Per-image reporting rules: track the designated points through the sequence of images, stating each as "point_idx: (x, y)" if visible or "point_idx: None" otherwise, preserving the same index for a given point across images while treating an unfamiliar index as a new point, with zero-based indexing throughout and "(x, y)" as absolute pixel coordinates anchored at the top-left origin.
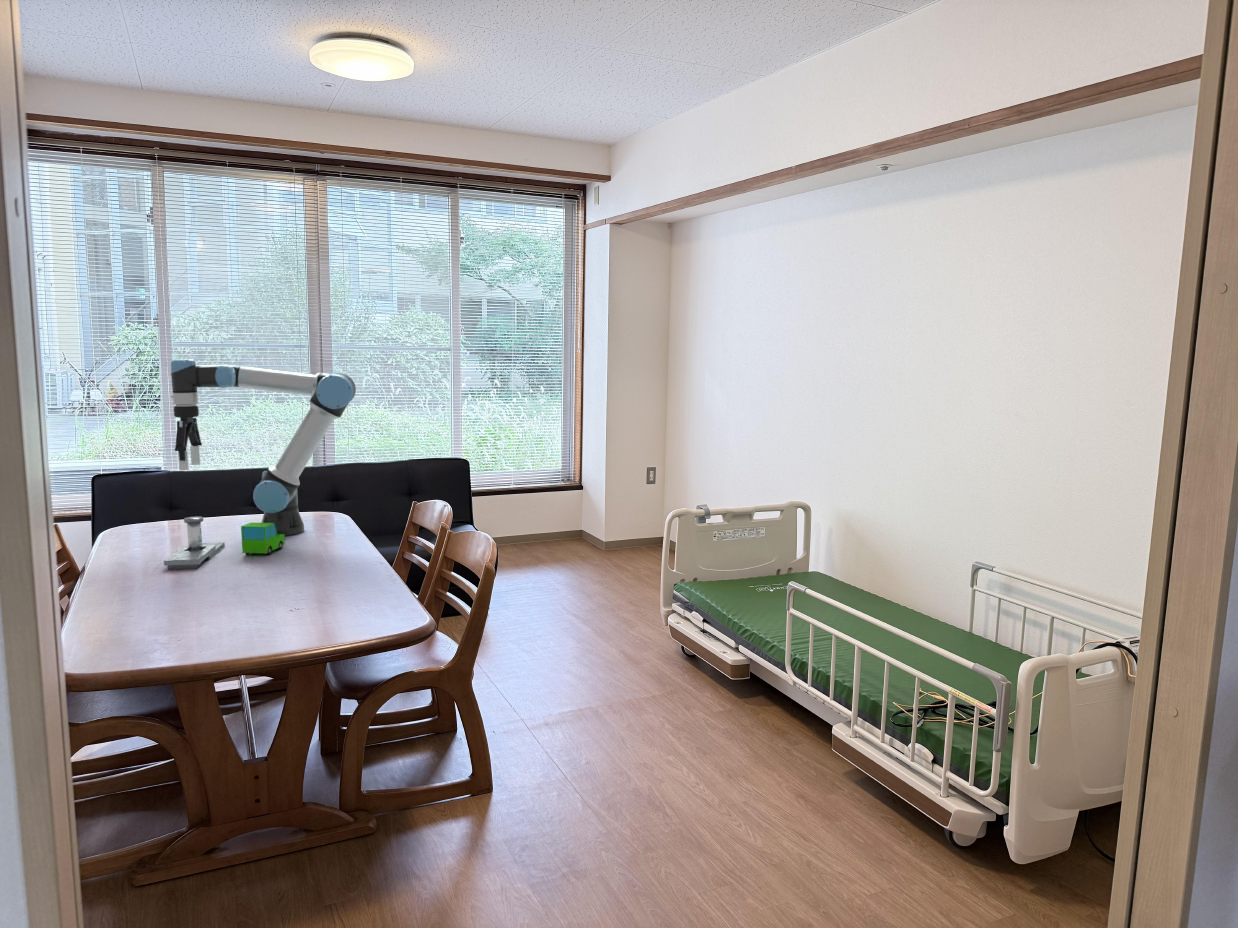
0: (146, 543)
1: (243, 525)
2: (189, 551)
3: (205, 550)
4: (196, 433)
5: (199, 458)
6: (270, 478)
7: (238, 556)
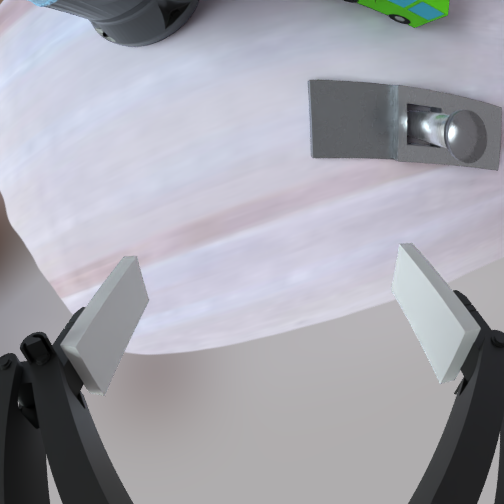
0: (246, 277)
1: (438, 8)
2: None
3: (444, 101)
4: (13, 451)
5: (117, 279)
6: None
7: (414, 37)
